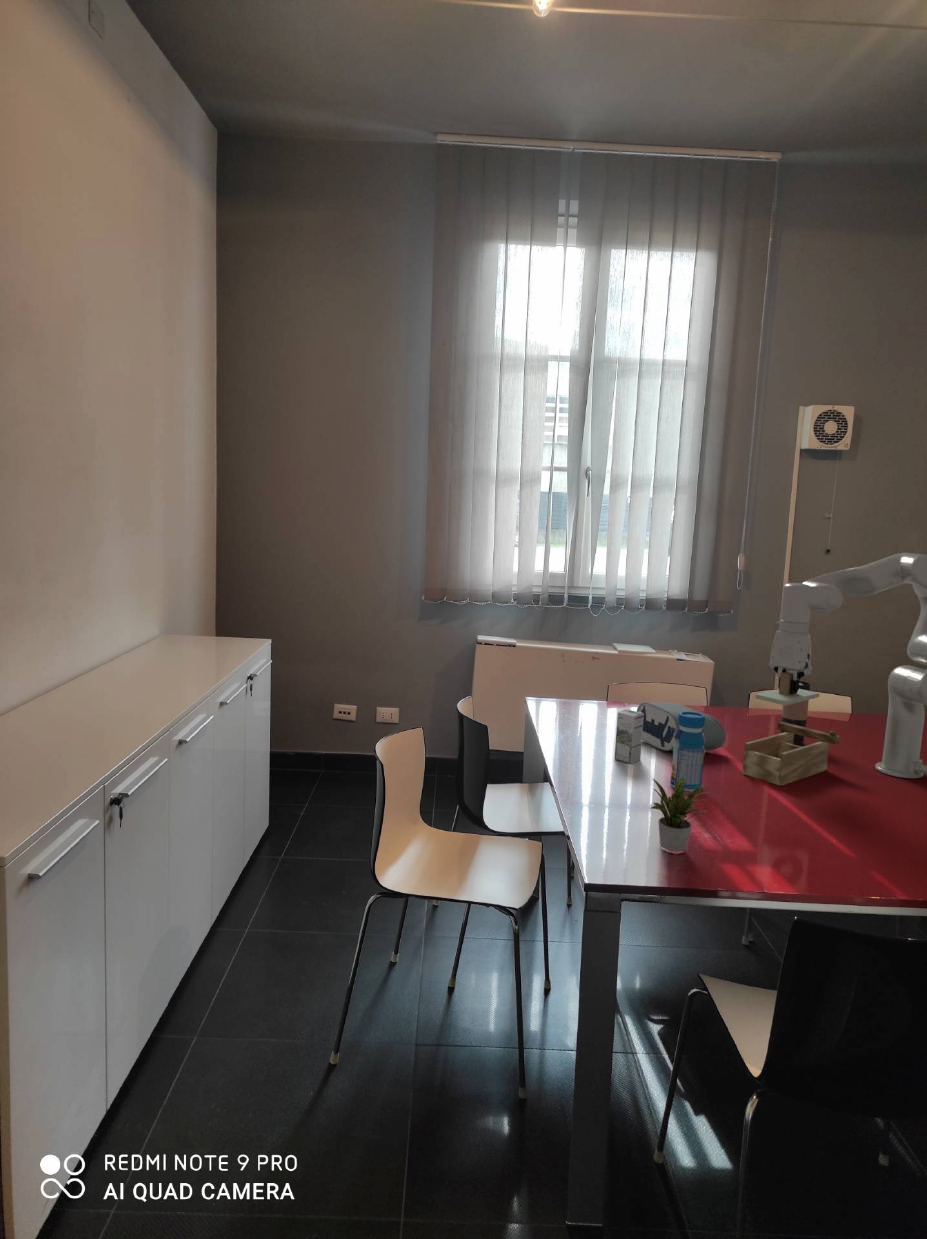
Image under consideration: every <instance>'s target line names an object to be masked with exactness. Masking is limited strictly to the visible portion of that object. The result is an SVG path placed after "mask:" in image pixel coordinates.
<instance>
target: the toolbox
mask: <svg viewBox="0 0 927 1239" xmlns="http://www.w3.org/2000/svg"><path fill="white" fill-rule="evenodd" d="M793 739H794V733H790V732H784V733H777V734H773V735H770V736H765V737H762V738H758V739H754V740H751V741H748V742H745V743H744V752H743V753H744V754H743V761H742V762H743V763H742V771H741V773H742V775H746V776H750V777H753V778H755V779H758V780H760V781H761V780H762V781H765V782H768V783H771V784H774V785H777V786H780V785H782V786H784V785H787V783H788V784H790V783H793V781H794V782H796V781H799V780H802V779H805V778H808V777H810V776H813V775H817V774H819V773H822V772H825V770H826V771H827V769H828V768H827V767H828V758H829V750H830V748H829V747H830V743H828V742H824V741H821V740H819V741H817V742H814V743H810V744H808V745H804V746H803V745H802V746H797V745H793Z"/></svg>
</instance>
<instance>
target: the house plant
mask: <svg viewBox="0 0 927 1239" xmlns="http://www.w3.org/2000/svg"><path fill="white" fill-rule="evenodd" d="M673 780H674V778H673ZM652 781H653V782H654V783H655V785H656V787H657V788H658V790H659V791H658V790H657V789H655V788H653V791H655V792H656V793H657V795H658V796H659V797H660V803H658V802H653V806H652V807H650V808H649V810H651V809H653V810H659V811H661V813H662V815H663V817H660V818H659V819H658V831H659V844H660V845H661V846H660V845H659V846H660V848H661V847H663V848H665V849H667V850H671V851H682V850H685V851H686V848H687V845H688V842H689V838H690V833H691V829H692V826H693V824H692V823H691V821H689V819H691V818H693V817H694V816H695V815H697V814H700V813H701V814H703V815H705V813H709V811H707V810H700V809H697V808H696V809H695V808H694V809H693V807H695V805H693V804H694V803H696V802H697V801H698V802H699V801H705V799H703V798H698V799H695V798H696V797H698V796H699V795H702V794H713V792H711V791H703V790H704V789H703V787H706V786H707V785H708V784H702V786H699V787H697V788H696V789H694V790H693V791H684V790H685V782H684V778H683V777H682V778H681V779H680V780H679V781H678V784H677V785H676V782H675V780H674V785H675V788H674V792H673V793H672V794H671V796H670V795H669V796H668V795H667V793H666V790H665V789H664V787H663V786H662V785H661V784H660V782H658V780H656V779H654V778H652ZM701 791H702V792H701ZM687 794H688V795H687ZM685 795H687V796H685ZM691 808H692V809H691ZM692 812H693V813H694V812H696V813H694V814H692V815H691V816H690V817H688V814H690V813H692ZM704 812H705V813H704ZM687 817H688V818H687Z"/></svg>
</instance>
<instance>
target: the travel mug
mask: <svg viewBox="0 0 927 1239" xmlns="http://www.w3.org/2000/svg"><path fill="white" fill-rule="evenodd" d="M799 689H803V690H807V691H811V683H809V682H806V681H802V680H800V681H799ZM781 710H782V711H781V719H780V722H786V723H790V724H793V725H797V726H801V727H805V728H807V720H808V712H809V700H806V701H802V702H798V703H794V704H790V705H782V709H781ZM779 731H780V733H784V732H786V731H782V730H779ZM780 733H779V734H780ZM804 741H805V736H801V735H798V734H794V739H793V745H797V746H801V747H803V745H804Z"/></svg>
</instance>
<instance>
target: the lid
mask: <svg viewBox="0 0 927 1239" xmlns="http://www.w3.org/2000/svg"><path fill="white" fill-rule="evenodd" d="M791 680H793V670H789V671H788V670H787V672H783V673H781V676H780V687H778V689H774V690H773V689H772V690H768V691H765V692H761V693H756V694H755V697H754V698H755V700H760V701H765V702H769V703H773V704H778V705H782V706H783V705H790V704H794V703H798V702H802V701H806V700H810V701H811V700H814V699H817V698H820V693H819V692H817V691H811V690H810V691H807V690H803V689H799V690H798V692H797V693H795V694H790V683H791Z"/></svg>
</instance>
